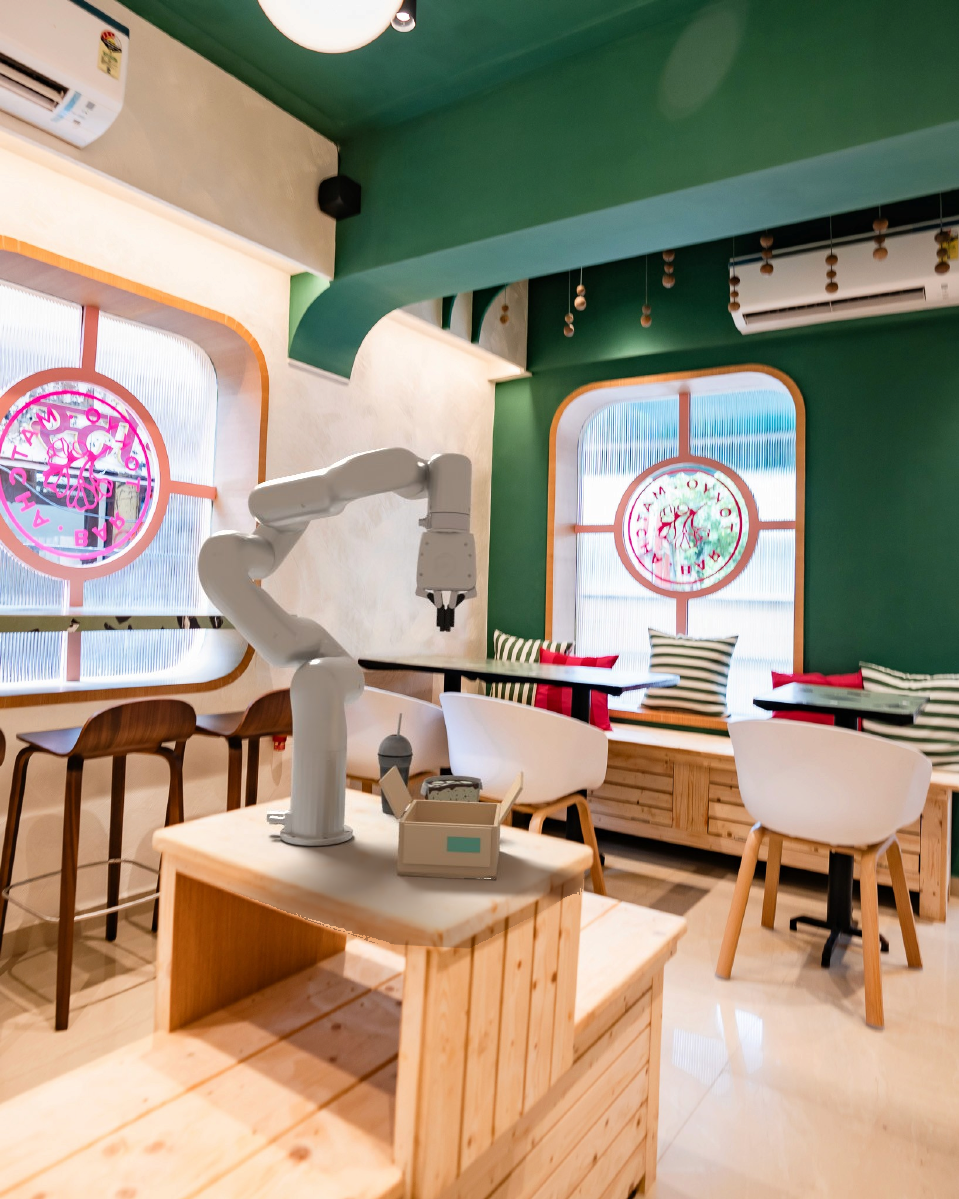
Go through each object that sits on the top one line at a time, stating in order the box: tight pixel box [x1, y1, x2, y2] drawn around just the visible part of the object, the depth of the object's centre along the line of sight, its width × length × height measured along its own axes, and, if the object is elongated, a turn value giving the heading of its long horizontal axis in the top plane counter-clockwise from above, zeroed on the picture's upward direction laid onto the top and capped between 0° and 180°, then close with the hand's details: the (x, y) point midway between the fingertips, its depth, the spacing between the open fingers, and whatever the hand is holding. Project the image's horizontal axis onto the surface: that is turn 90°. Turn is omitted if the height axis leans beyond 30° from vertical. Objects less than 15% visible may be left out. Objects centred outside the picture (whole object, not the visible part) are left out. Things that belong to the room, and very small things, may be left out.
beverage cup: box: [377, 712, 414, 815], centre depth 163 cm, size 7×7×20 cm
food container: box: [420, 774, 484, 802], centre depth 147 cm, size 12×6×10 cm, turn 123°
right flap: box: [499, 770, 524, 825], centre depth 129 cm, size 6×14×1 cm
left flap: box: [378, 766, 413, 820], centre depth 130 cm, size 6×14×1 cm
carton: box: [396, 799, 502, 880], centre depth 129 cm, size 15×17×8 cm
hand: (445, 631), depth 138 cm, fingers closed
